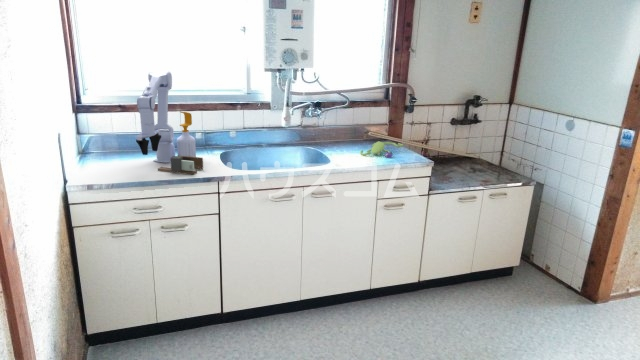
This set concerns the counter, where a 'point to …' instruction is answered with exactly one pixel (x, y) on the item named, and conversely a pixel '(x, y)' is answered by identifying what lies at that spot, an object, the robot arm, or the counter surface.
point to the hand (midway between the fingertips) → (150, 152)
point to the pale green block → (187, 165)
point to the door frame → (197, 165)
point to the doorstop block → (176, 163)
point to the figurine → (380, 149)
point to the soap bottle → (186, 139)
